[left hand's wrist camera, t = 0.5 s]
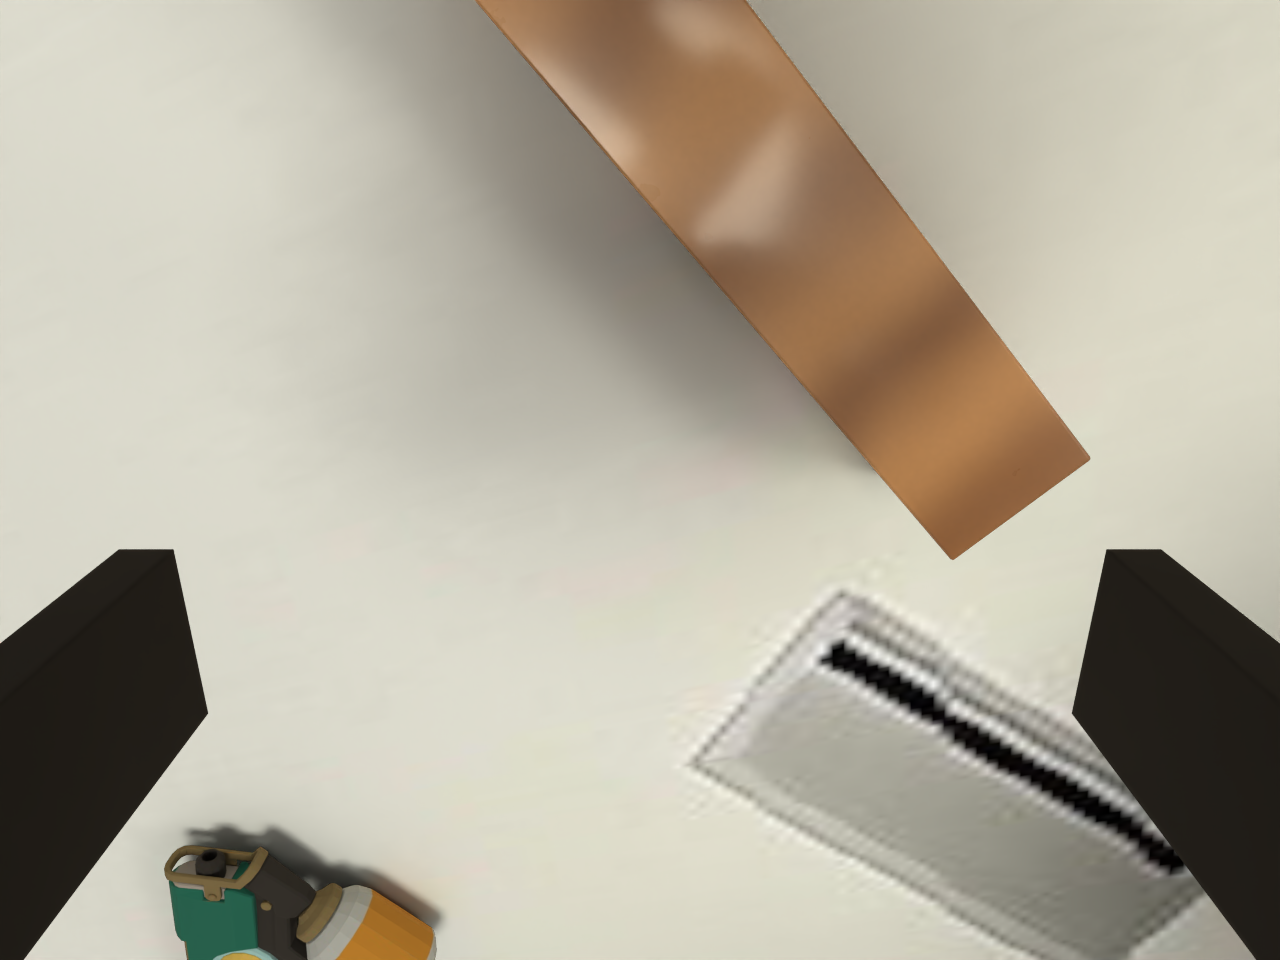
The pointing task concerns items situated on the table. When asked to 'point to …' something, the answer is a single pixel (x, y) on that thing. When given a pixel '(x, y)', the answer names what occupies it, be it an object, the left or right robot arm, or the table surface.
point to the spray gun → (283, 913)
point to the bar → (805, 247)
